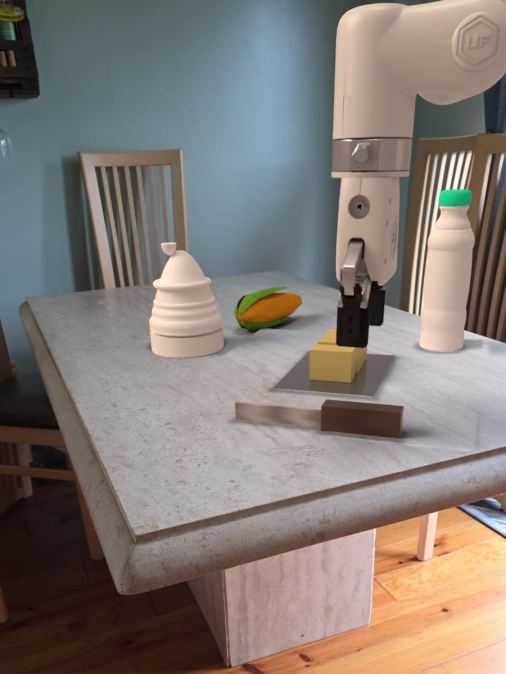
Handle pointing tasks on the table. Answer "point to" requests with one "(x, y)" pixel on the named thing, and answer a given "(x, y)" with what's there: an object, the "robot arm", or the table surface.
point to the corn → (266, 308)
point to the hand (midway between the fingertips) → (360, 335)
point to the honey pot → (184, 310)
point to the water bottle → (448, 274)
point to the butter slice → (332, 363)
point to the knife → (332, 417)
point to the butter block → (331, 340)
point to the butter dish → (362, 383)
